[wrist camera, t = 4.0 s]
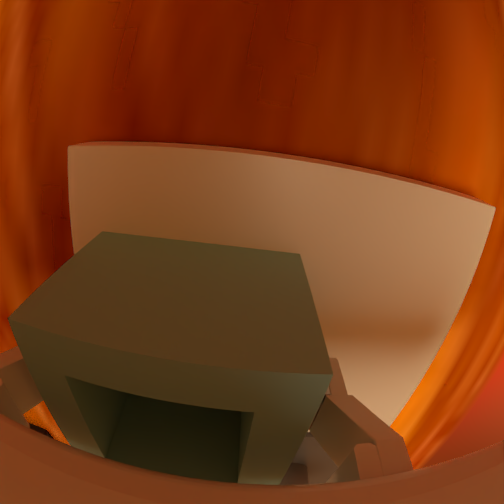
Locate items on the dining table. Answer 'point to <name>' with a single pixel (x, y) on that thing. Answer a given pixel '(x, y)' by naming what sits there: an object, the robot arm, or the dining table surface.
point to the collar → (179, 355)
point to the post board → (306, 247)
